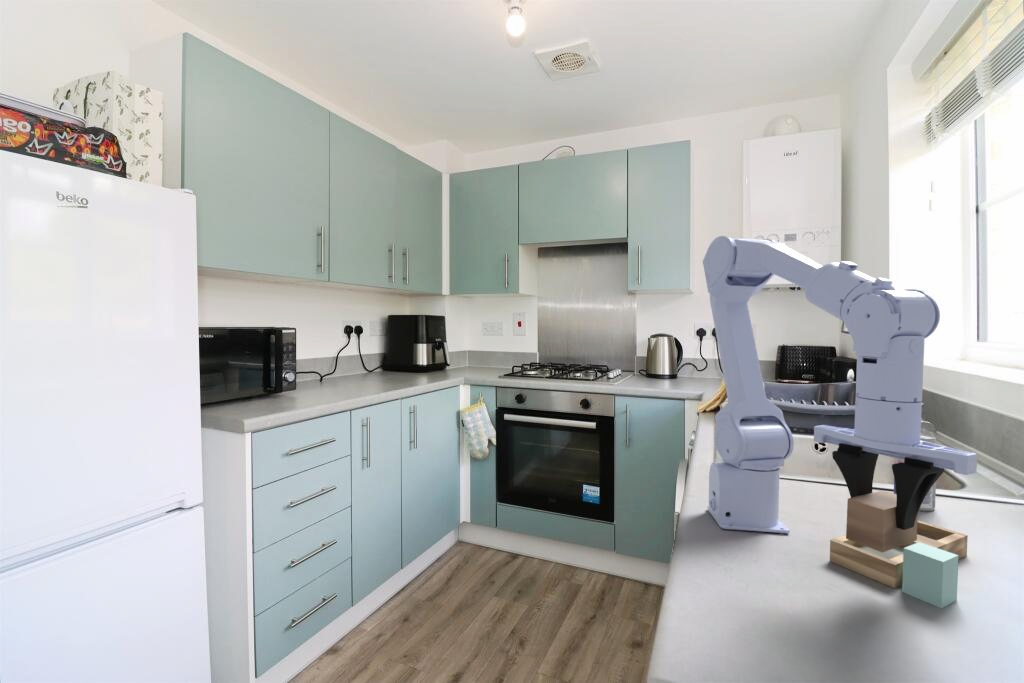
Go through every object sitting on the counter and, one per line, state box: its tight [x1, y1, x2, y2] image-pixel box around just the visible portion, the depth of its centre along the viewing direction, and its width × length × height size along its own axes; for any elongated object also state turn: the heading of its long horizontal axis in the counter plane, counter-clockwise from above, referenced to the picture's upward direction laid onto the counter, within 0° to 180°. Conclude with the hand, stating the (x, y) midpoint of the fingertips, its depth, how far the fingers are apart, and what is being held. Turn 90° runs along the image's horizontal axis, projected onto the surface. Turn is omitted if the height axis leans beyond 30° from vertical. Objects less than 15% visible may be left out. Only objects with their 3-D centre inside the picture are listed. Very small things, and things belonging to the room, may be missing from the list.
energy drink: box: [893, 433, 938, 512], centre depth 79 cm, size 5×5×12 cm
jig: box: [829, 519, 969, 589], centre depth 60 cm, size 18×7×3 cm, turn 117°
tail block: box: [901, 542, 959, 609], centre depth 52 cm, size 4×4×5 cm
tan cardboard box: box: [845, 490, 919, 552], centre depth 52 cm, size 7×4×4 cm, turn 116°
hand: (883, 520), depth 52 cm, fingers closed on tan cardboard box, 3 cm apart
